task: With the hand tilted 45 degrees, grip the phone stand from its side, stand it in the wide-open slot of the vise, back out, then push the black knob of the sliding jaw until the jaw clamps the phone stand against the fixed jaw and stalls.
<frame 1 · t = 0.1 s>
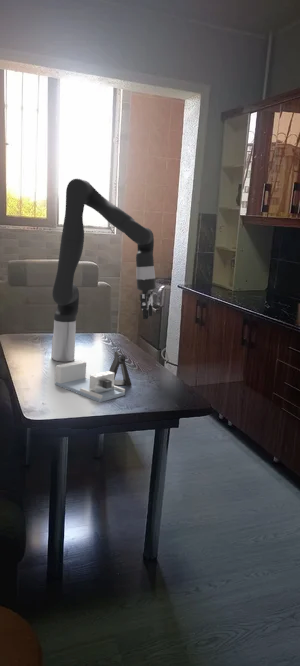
hand: (148, 317, 208), 22 cm above the table, tool pointing down, fingers open, 8 cm apart
phone stand: (118, 383, 192), on the table
vise body: (88, 389, 182), on the table
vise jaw: (101, 394, 178), resting on vise body, slide at 0.0 cm
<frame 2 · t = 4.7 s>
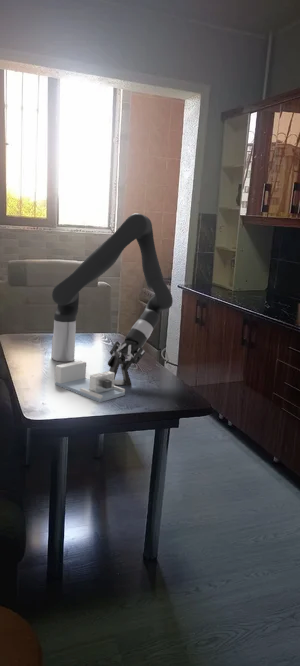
hand: (116, 367, 190), 6 cm above the table, tool tilted 45°, fingers closed on phone stand, 6 cm apart
phone stand: (118, 383, 192), on the table, touching gripper
everything else where it was.
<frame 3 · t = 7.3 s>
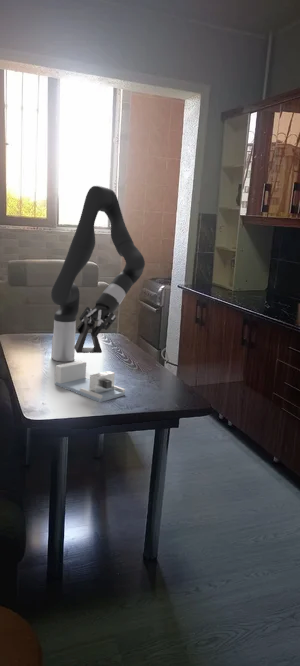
hand: (85, 334, 178), 20 cm above the table, tool tilted 45°, fingers closed on phone stand, 6 cm apart
phone stand: (87, 351, 181), point 14 cm above the table, touching gripper
everything else where it was.
when the fingers open (9 cm above the table, at t = 10.1 s): phone stand drops 1 cm, resting on vise body.
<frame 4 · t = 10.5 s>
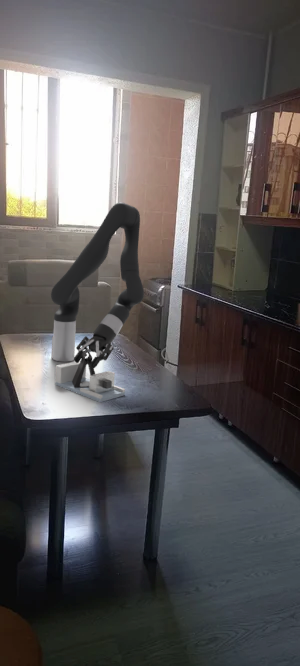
hand: (83, 364, 181), 9 cm above the table, tool tilted 45°, fingers open, 8 cm apart
phone stand: (85, 385, 183), point 1 cm above the table, touching vise body
everything else where it was.
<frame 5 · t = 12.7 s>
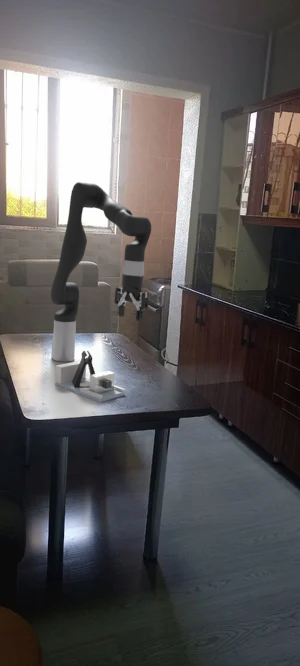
hand: (129, 318, 184), 26 cm above the table, tool pointing down, fingers open, 8 cm apart
nothing on the table moved.
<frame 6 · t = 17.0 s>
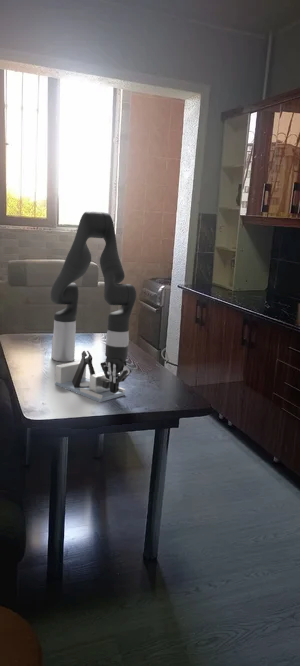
hand: (114, 392, 174), 2 cm above the table, tool pointing down, fingers closed
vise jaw: (101, 394, 178), resting on vise body, slide at 0.0 cm, touching gripper
everything else where it was.
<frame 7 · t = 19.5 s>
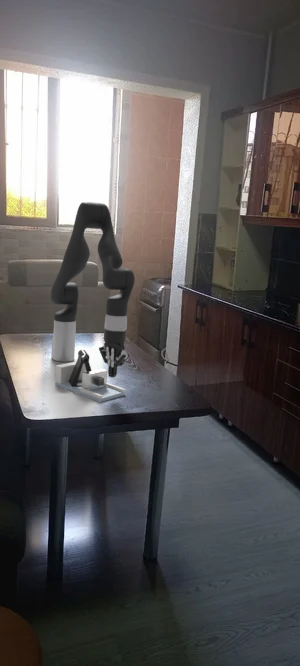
hand: (112, 376, 175), 7 cm above the table, tool pointing down, fingers closed
phone stand: (82, 384, 184), point 1 cm above the table, touching vise body
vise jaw: (94, 391, 180), resting on vise body, slide at 3.8 cm
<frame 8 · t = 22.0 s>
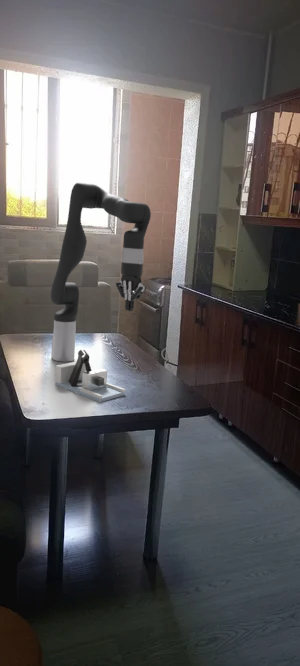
hand: (129, 310, 180), 29 cm above the table, tool pointing down, fingers closed
nothing on the table moved.
at the end: phone stand inside the target area (2.2 cm from its centre), point 1.0 cm above the table; phone stand tilted 0°; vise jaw slide at 3.8 cm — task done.
